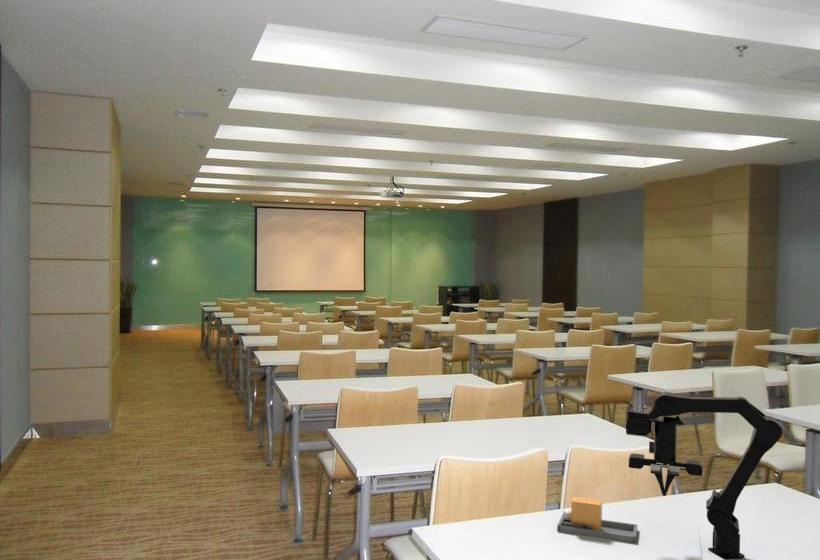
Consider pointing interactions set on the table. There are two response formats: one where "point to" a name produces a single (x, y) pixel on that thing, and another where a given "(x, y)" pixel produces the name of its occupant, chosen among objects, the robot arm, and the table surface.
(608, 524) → the tray
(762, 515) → the table surface
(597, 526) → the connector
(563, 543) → the table surface
